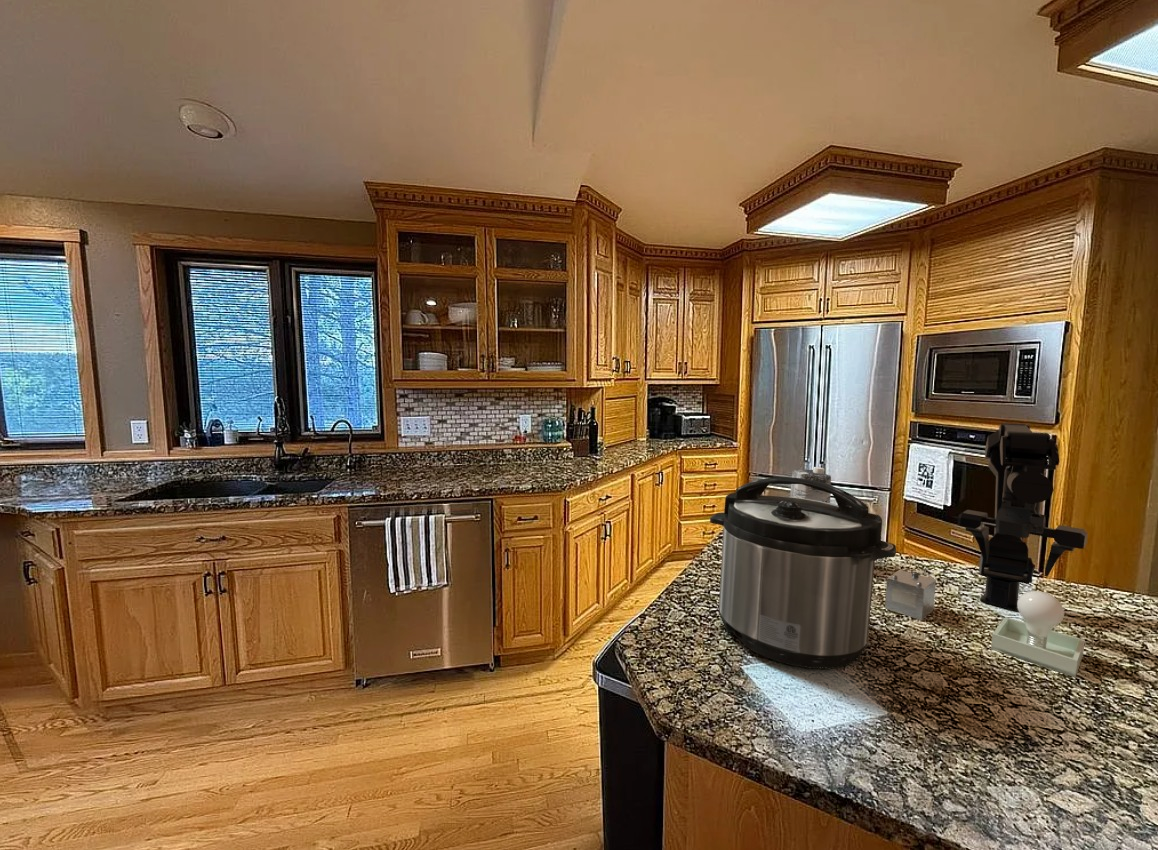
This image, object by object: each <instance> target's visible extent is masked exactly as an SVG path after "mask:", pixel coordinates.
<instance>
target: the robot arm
mask: <svg viewBox="0 0 1158 850" xmlns="http://www.w3.org/2000/svg"><path fill="white" fill-rule="evenodd" d="M998 427H999V428H998V429H997V430H995V431H994V432H993V433H991V434H990V435H988V436H987V437H986V443H985V451H984V458H985V459H987V460H988V461H987V467H988V469H989V470H990V471H991V472H992V473H993V475H994V476H995V497H994V498H995V499H994V500H995V501H994V504H995V505H994V517H989V515H988V512H983V511H977V510H972V509H966V510H964V511H963V512H961V513H959V514H958V518H957V526H959V527H962V528H963V527H964V530H965V531H966V532H969V533H971V534H972V536H973V537H974V538H975V541H976V542H977V545H978V547H979V551H980V558H979V562H978V563H979V564H978V571H979V575H980V577H981V576H982V577H986V579H985V590H984V591H985V592H984V594H983V595H982V596H981V597H980V598H979V601H980V602H982V603H985V604H989V605H993V606H996V607H999V608H1003V609H1007V610H1011V611H1015V612H1017V611H1018V608H1017V601H1018V599H1019V591H1020V584H1025V585H1030V584H1033V574H1034V571H1035V570H1036V569H1035V568H1036V564H1034V562H1033V560H1032V557H1030V556H1029V546H1028V545H1027V543H1026V542H1025V541H1024V540H1022V539H1027V538H1029V537H1030V535H1032V536H1033V535H1034V536H1039V537H1044V538H1048V539H1049V538H1050V539H1053V542H1052V544H1051V545H1050V550H1049V554H1048V558H1047V561H1046V564H1045V568H1044V577H1046V578H1047V577H1049V575H1050V573H1051V571H1052V570H1053V568H1054V566H1055V565H1056V563H1057V562H1058V560H1059V558H1061V556H1062V555H1063V554H1064V552H1066V551H1068V552H1073V551H1074V550H1075V549H1079V550H1081V549H1083V550H1084V549H1085V547H1086V545H1087V544H1088V532H1087V531H1086V530H1085V529H1084V528H1081V527H1080V528H1078V527H1074V526H1073V527H1071V526H1067V525H1063V524H1058V526H1057V527H1056V528H1052V527H1046V515H1045V514H1041V507H1042V506H1041V505H1042V502H1046V501H1047V500H1048V499H1049V498H1050V497H1052V495H1053V492H1054V485H1053V483H1052V481H1051V479H1049V477H1047V476H1046V475H1045V470H1051V471H1052V470H1053V471H1054V470H1055V471H1056V469H1057V466H1059V464H1060V454H1059V453H1060V452H1059V447H1058V444H1057V443H1056V440H1055V439H1054V438H1051V435H1050V433H1049V432H1038V431H1032V430H1031V429H1030V428H1031V427H1030V424H1026V423H1016V422H1014V423H1013V422H1004V423H1000V424H999V426H998ZM990 528H994V530H993V531H994V533H993V536H992V537H991V538H989V537H990V530H989V529H990Z"/></svg>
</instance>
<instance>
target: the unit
mask: <svg viewBox="0 0 1158 850" xmlns="http://www.w3.org/2000/svg"><path fill="white" fill-rule="evenodd" d="M936 582H937V581H936V579H934V578H931V577H927V576H924V575H921V574H919V572H916V571H912V572H908V571H905V570H902V569H899V570H897V571H896V572H895V573H893V574H891V575H890V576H888V577H886V587H885V600H884V601H885V603H884V609H886V610H890V611H892V612H895V613H898V614H901V615H904V616H906V617H911V618H913V619H917V620H919V621H923V620H924V619H925V618H926V617H927V616H929V615H930V614H931V613H932V612H933V611H934V609H935V607H934V606H935V597H936V584H937V583H936Z"/></svg>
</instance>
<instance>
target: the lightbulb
mask: <svg viewBox="0 0 1158 850" xmlns="http://www.w3.org/2000/svg"><path fill="white" fill-rule="evenodd" d="M1017 608H1018V610H1017V611H1018V612H1019V614H1020V615H1021V618H1022V619H1023V620H1024V621H1023V622H1025V623H1026V628H1027V630H1028V636H1027V644H1030V645H1033V646H1036V647H1039V648H1042V649H1046V644H1047V643H1046V642H1047V636H1048V635H1049V634H1050V632H1051V630H1052V631H1053V629H1054V627H1057V626H1058V625H1060V624H1061V622H1063V619H1064V618H1065V609H1064V607H1063V605H1062V603H1061V602H1060V601H1059V600H1058V599H1057V598H1056V597H1055V596H1053V595H1052V594H1050V593H1047V592H1044V591H1040V590H1030V591H1026V592H1023V593H1022V594H1020V596H1018V601H1017Z"/></svg>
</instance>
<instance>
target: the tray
mask: <svg viewBox="0 0 1158 850" xmlns="http://www.w3.org/2000/svg"><path fill="white" fill-rule="evenodd" d="M991 636H992V637H991V645H990V649H991V650H993V651H997V652H999V653H1002V654H1004V655H1007V656H1011V657H1013V658H1016V659H1020V660H1023V661H1026V662H1029V663H1031V664H1035V665H1037V666H1041V667H1044V668H1046V669H1049V670H1053V671H1055V672H1057V673H1061V674H1064V675H1067V676H1070V677H1072V678H1076V677H1077V674H1078V671H1079V668H1080V665H1081V663H1082V660H1083V657H1084V653H1085V652H1084V651H1085V642H1086V640H1085V639H1082V638H1079V637H1076V636H1073V635H1069V634H1066V633H1063V632H1060V631H1059V632H1058V631H1055V630H1053V629H1052V630H1051V632H1050V634H1049V635H1048V636H1047V642H1046V643H1047V644H1046V649H1042V648H1039V647H1036V646H1033V645H1030V644H1027V636H1028V630H1027V628H1026V623H1025V621H1022V620H1021V621H1020V620H1018V619H1015V618H1011V617H1007V616H1005V617H1004V618H1003V620H1002V621H1001V622H1000V624H998V625H997V627H996V629H994V632H993V633H992V635H991Z"/></svg>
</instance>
